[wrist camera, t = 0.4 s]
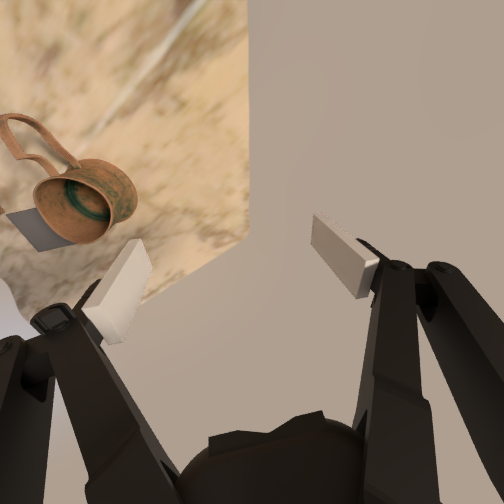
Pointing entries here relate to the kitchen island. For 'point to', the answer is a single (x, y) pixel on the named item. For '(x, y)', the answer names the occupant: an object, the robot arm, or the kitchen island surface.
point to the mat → (37, 230)
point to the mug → (76, 190)
